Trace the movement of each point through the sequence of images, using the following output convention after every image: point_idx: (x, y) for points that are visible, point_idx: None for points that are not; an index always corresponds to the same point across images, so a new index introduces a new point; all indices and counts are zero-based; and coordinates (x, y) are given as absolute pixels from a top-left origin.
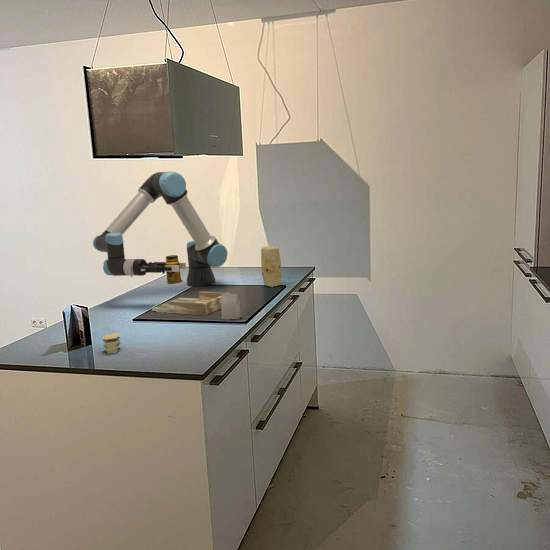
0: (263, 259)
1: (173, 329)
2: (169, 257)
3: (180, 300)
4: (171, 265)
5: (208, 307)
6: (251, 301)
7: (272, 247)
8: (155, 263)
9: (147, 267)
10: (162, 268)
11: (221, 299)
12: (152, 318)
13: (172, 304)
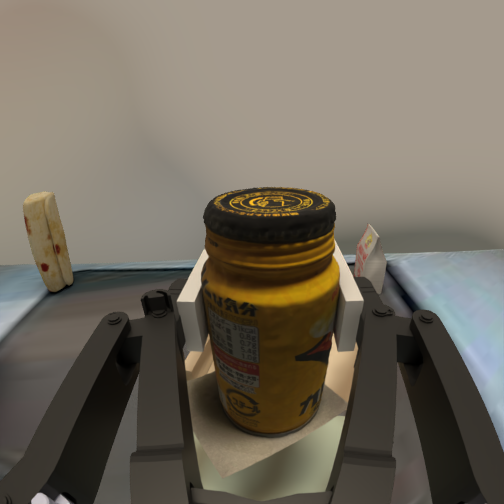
0: (41, 227)
1: (490, 331)
2: (331, 202)
3: (204, 464)
4: (339, 266)
5: None
6: None
7: (46, 192)
8: (186, 486)
9: (493, 438)
10: (397, 322)
11: (382, 250)
12: None
13: (292, 471)
